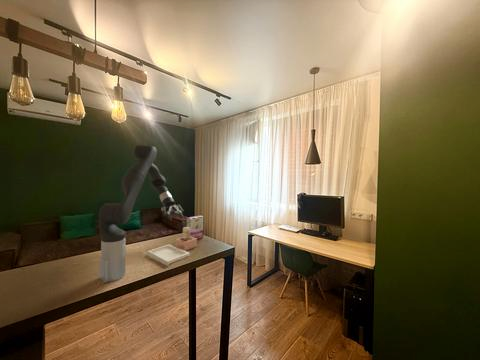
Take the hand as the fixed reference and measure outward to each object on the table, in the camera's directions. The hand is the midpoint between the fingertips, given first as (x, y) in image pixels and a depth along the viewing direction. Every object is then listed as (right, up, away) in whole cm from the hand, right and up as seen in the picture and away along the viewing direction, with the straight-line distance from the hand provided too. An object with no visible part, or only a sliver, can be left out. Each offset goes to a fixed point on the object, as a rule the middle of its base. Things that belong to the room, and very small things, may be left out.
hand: (176, 219), depth 129 cm
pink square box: (+8, -17, -5) cm, 20 cm away
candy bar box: (+9, -17, +11) cm, 22 cm away
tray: (+1, -18, -18) cm, 25 cm away
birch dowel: (+8, -16, -5) cm, 19 cm away
